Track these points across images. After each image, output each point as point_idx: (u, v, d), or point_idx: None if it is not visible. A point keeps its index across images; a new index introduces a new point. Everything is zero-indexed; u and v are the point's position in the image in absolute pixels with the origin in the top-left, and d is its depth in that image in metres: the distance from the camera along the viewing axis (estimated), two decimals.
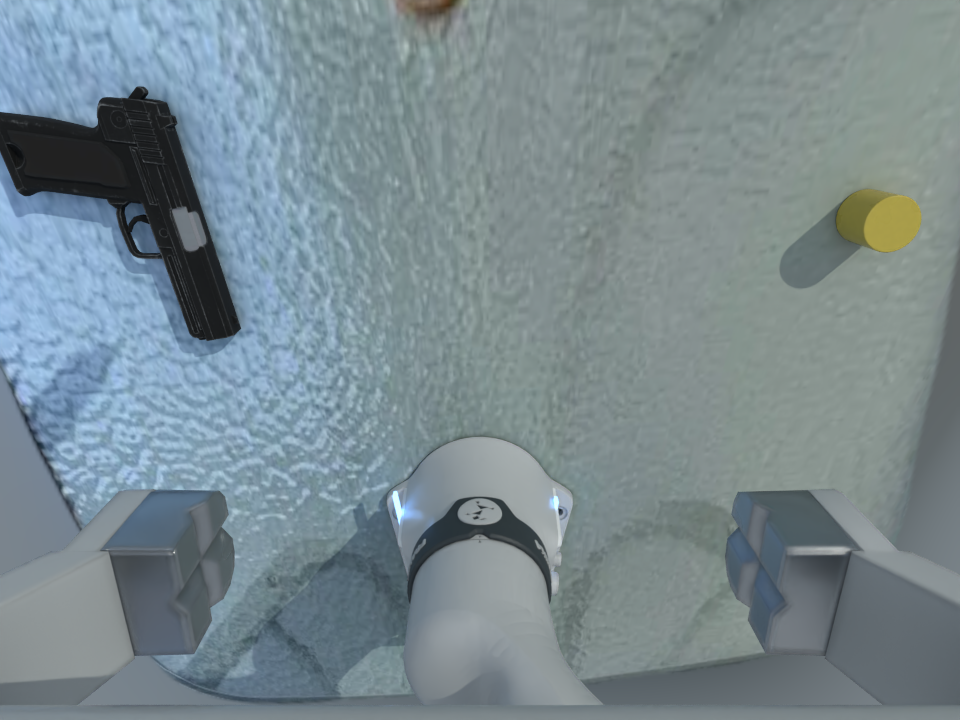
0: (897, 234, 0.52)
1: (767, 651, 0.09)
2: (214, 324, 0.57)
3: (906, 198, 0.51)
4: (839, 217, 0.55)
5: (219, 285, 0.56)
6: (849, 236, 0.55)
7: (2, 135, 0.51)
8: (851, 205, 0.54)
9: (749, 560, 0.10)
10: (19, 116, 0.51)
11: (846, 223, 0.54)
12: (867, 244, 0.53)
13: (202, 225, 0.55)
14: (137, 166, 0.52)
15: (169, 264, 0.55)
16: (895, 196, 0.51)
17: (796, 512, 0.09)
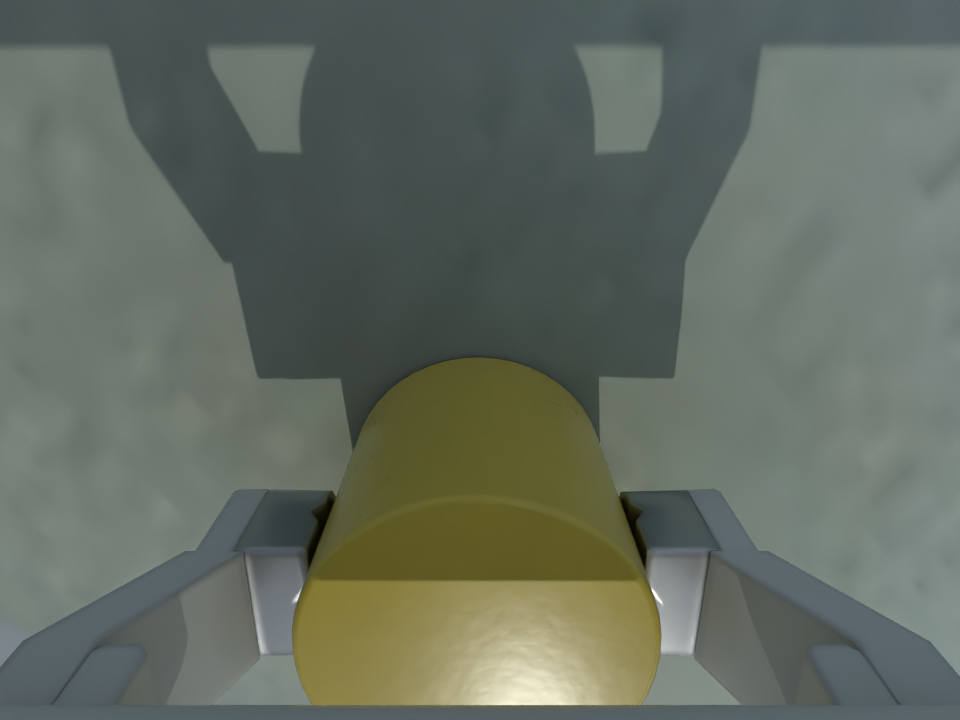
0: (396, 652, 0.08)
1: None
2: None
3: None
4: (565, 396, 0.11)
5: None
6: (479, 397, 0.10)
7: None
8: (611, 476, 0.10)
9: None
10: None
11: (556, 419, 0.10)
12: (455, 488, 0.07)
13: None
14: None
15: None
16: None
17: (668, 512, 0.09)
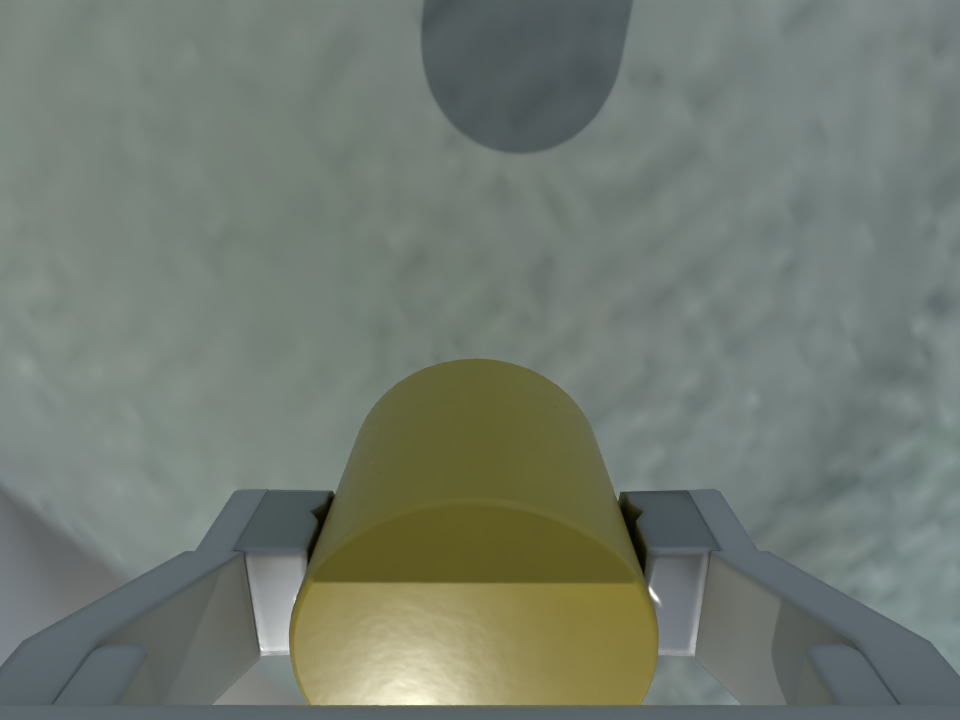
0: (392, 654, 0.08)
1: None
2: None
3: None
4: (563, 397, 0.11)
5: None
6: (477, 399, 0.10)
7: None
8: (609, 478, 0.10)
9: None
10: None
11: (554, 420, 0.10)
12: (451, 491, 0.07)
13: None
14: None
15: None
16: None
17: (668, 512, 0.09)
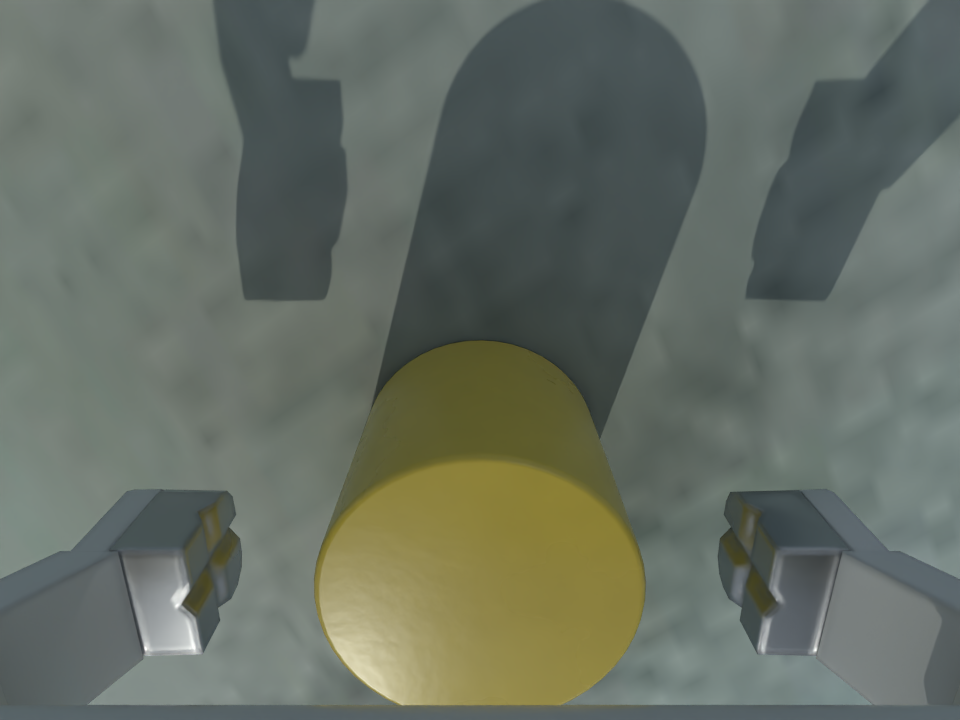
0: (408, 598, 0.09)
1: (759, 651, 0.09)
2: None
3: (557, 701, 0.09)
4: (560, 375, 0.12)
5: None
6: (482, 374, 0.11)
7: None
8: (602, 448, 0.11)
9: (741, 560, 0.10)
10: None
11: (552, 394, 0.11)
12: (461, 448, 0.08)
13: None
14: None
15: None
16: (606, 669, 0.09)
17: (788, 512, 0.09)
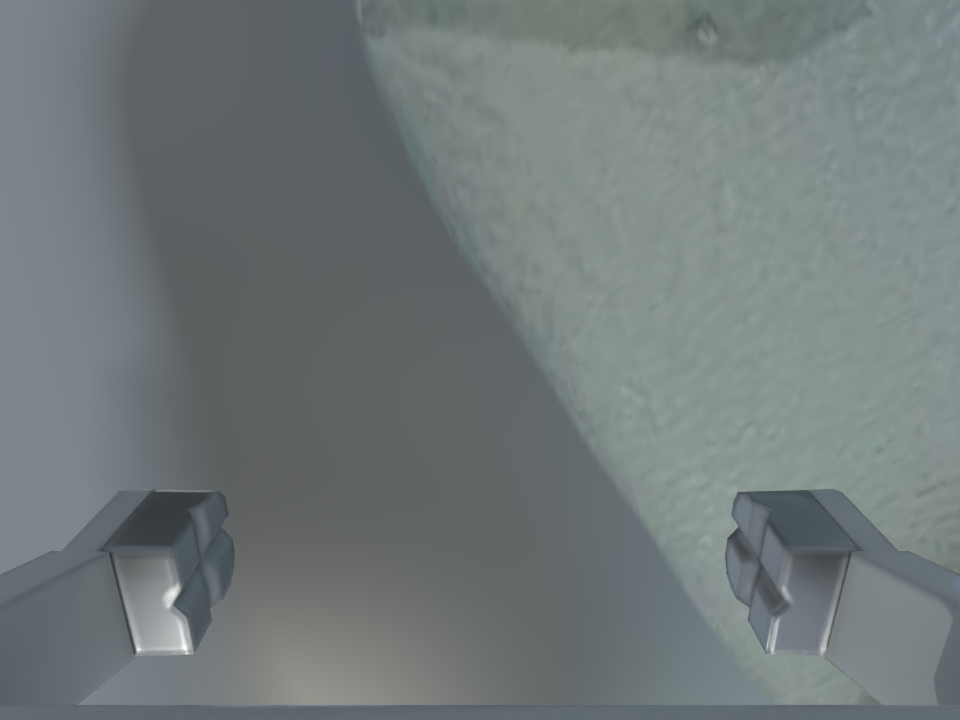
0: None
1: (767, 651, 0.09)
2: None
3: None
4: None
5: None
6: None
7: None
8: None
9: (749, 560, 0.10)
10: None
11: None
12: None
13: None
14: None
15: None
16: None
17: (796, 512, 0.09)
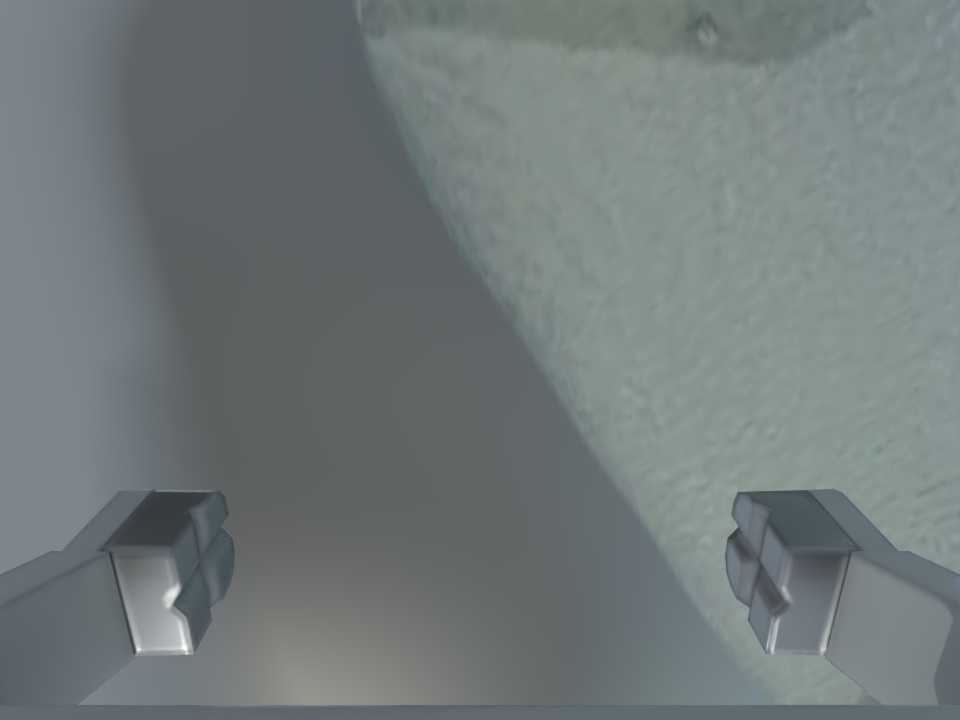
0: None
1: (767, 651, 0.09)
2: None
3: None
4: None
5: None
6: None
7: None
8: None
9: (749, 560, 0.10)
10: None
11: None
12: None
13: None
14: None
15: None
16: None
17: (796, 512, 0.09)
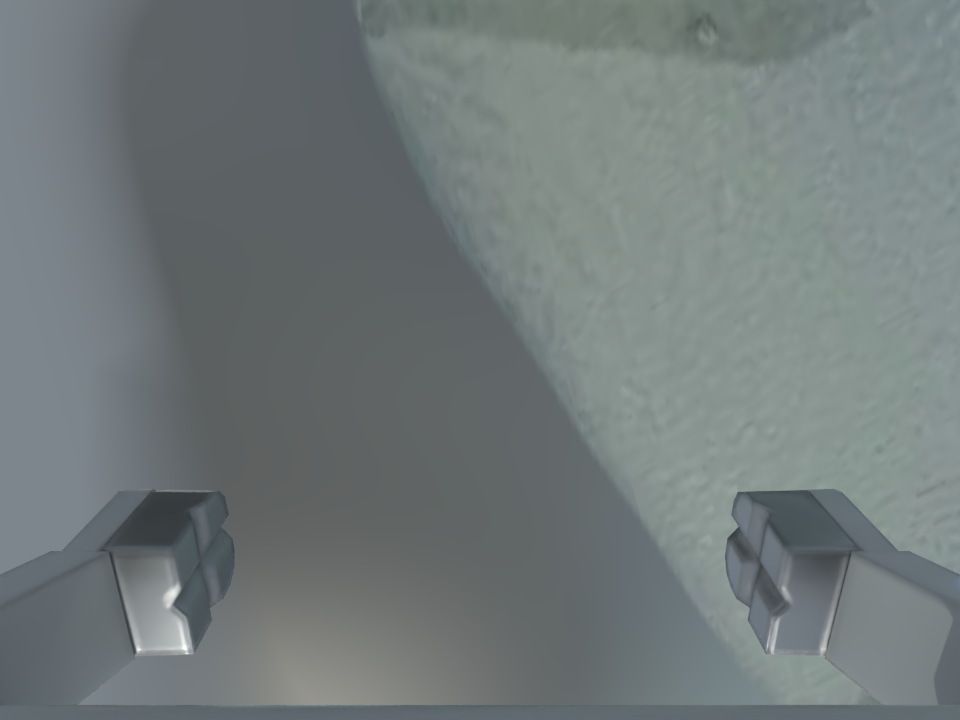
0: None
1: (767, 651, 0.09)
2: None
3: None
4: None
5: None
6: None
7: None
8: None
9: (749, 560, 0.10)
10: None
11: None
12: None
13: None
14: None
15: None
16: None
17: (796, 512, 0.09)
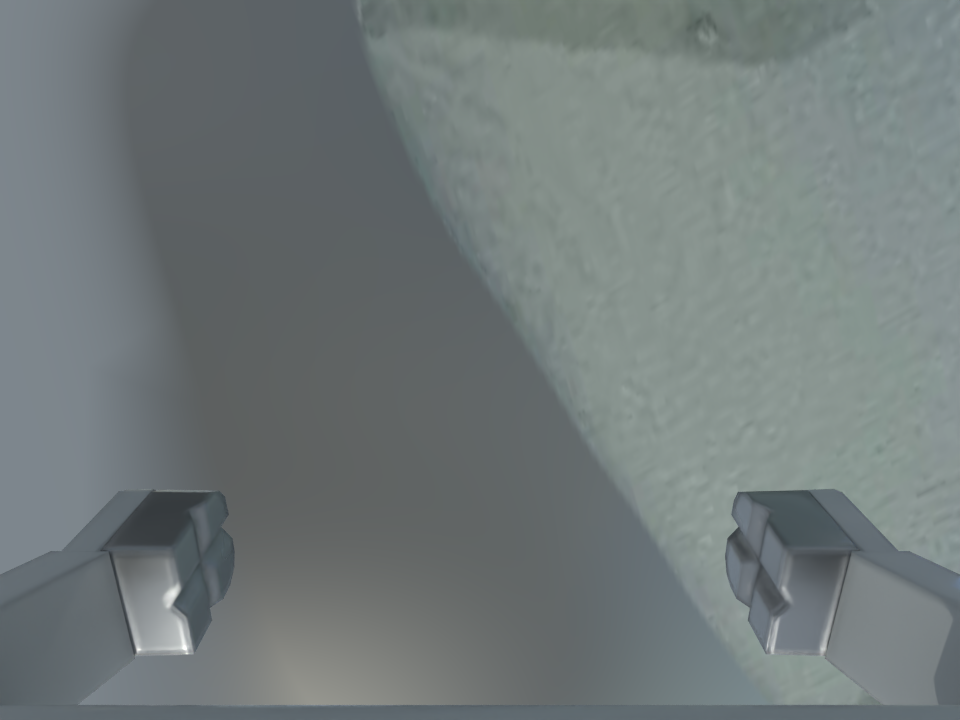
0: None
1: (767, 651, 0.09)
2: None
3: None
4: None
5: None
6: None
7: None
8: None
9: (749, 560, 0.10)
10: None
11: None
12: None
13: None
14: None
15: None
16: None
17: (796, 512, 0.09)
